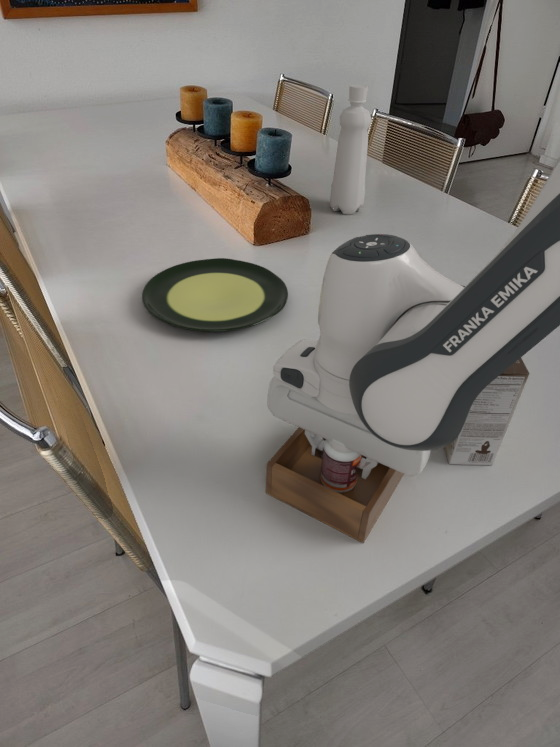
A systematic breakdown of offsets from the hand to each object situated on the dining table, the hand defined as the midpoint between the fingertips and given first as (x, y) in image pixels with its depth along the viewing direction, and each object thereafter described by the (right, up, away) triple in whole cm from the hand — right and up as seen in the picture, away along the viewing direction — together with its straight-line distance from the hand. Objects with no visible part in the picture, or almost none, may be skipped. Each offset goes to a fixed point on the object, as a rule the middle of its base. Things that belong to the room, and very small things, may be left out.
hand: (340, 463), depth 69 cm
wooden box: (0, -3, +2) cm, 3 cm away
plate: (-20, +25, +38) cm, 50 cm away
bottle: (+10, +56, +78) cm, 97 cm away
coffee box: (+18, +2, +9) cm, 20 cm away
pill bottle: (0, -2, +2) cm, 3 cm away
